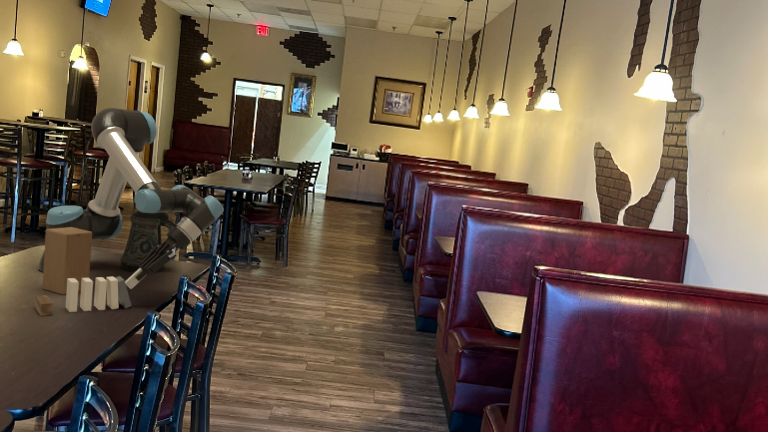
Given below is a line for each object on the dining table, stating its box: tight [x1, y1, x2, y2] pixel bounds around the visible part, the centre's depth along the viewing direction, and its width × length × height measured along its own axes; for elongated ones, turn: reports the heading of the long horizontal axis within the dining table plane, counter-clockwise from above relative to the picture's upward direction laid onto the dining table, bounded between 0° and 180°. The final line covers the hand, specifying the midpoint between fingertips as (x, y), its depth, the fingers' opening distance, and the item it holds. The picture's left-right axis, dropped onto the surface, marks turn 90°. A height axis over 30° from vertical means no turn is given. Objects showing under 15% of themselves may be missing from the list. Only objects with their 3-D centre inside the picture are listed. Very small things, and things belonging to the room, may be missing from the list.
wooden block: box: [42, 227, 93, 296], centre depth 213 cm, size 10×10×20 cm
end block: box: [34, 294, 54, 317], centre depth 189 cm, size 3×9×4 cm, turn 38°
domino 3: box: [93, 276, 107, 311], centre depth 199 cm, size 2×5×9 cm, turn 38°
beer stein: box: [120, 209, 176, 274], centre depth 255 cm, size 16×19×25 cm
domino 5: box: [114, 276, 132, 309], centre depth 203 cm, size 2×5×9 cm, turn 38°
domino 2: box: [79, 277, 94, 312], centre depth 196 cm, size 2×5×9 cm, turn 38°
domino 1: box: [65, 278, 79, 313], centre depth 194 cm, size 2×5×9 cm, turn 38°
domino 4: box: [105, 276, 119, 310], centre depth 201 cm, size 2×5×9 cm, turn 38°
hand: (127, 285), depth 203 cm, fingers closed
